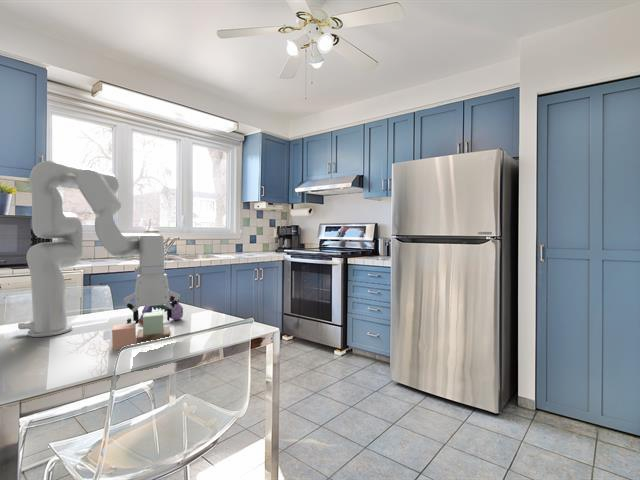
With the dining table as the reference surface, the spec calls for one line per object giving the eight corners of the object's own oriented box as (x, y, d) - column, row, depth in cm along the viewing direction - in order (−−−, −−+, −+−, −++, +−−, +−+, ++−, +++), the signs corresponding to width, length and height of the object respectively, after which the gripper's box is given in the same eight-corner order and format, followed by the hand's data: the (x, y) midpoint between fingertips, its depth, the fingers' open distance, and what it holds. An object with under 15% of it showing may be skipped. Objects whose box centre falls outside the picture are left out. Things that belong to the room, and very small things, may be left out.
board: (136, 342, 117) (136, 337, 117) (138, 333, 126) (138, 329, 126) (170, 338, 121) (169, 333, 121) (169, 330, 130) (169, 326, 130)
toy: (169, 338, 139) (188, 303, 140) (133, 321, 137) (152, 286, 138) (175, 330, 150) (193, 298, 151) (142, 315, 147) (160, 282, 148)
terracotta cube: (112, 349, 111) (112, 329, 110) (114, 343, 116) (114, 325, 116) (134, 346, 113) (134, 327, 113) (135, 341, 118) (135, 322, 118)
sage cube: (143, 335, 119) (142, 317, 119) (144, 330, 125) (143, 313, 125) (163, 333, 122) (162, 315, 122) (163, 328, 127) (163, 311, 127)
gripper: (121, 273, 116) (122, 326, 117) (180, 270, 122) (180, 321, 123) (124, 270, 123) (125, 321, 123) (179, 268, 129) (180, 316, 130)
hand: (152, 321), depth 123 cm, fingers open, 9 cm apart
